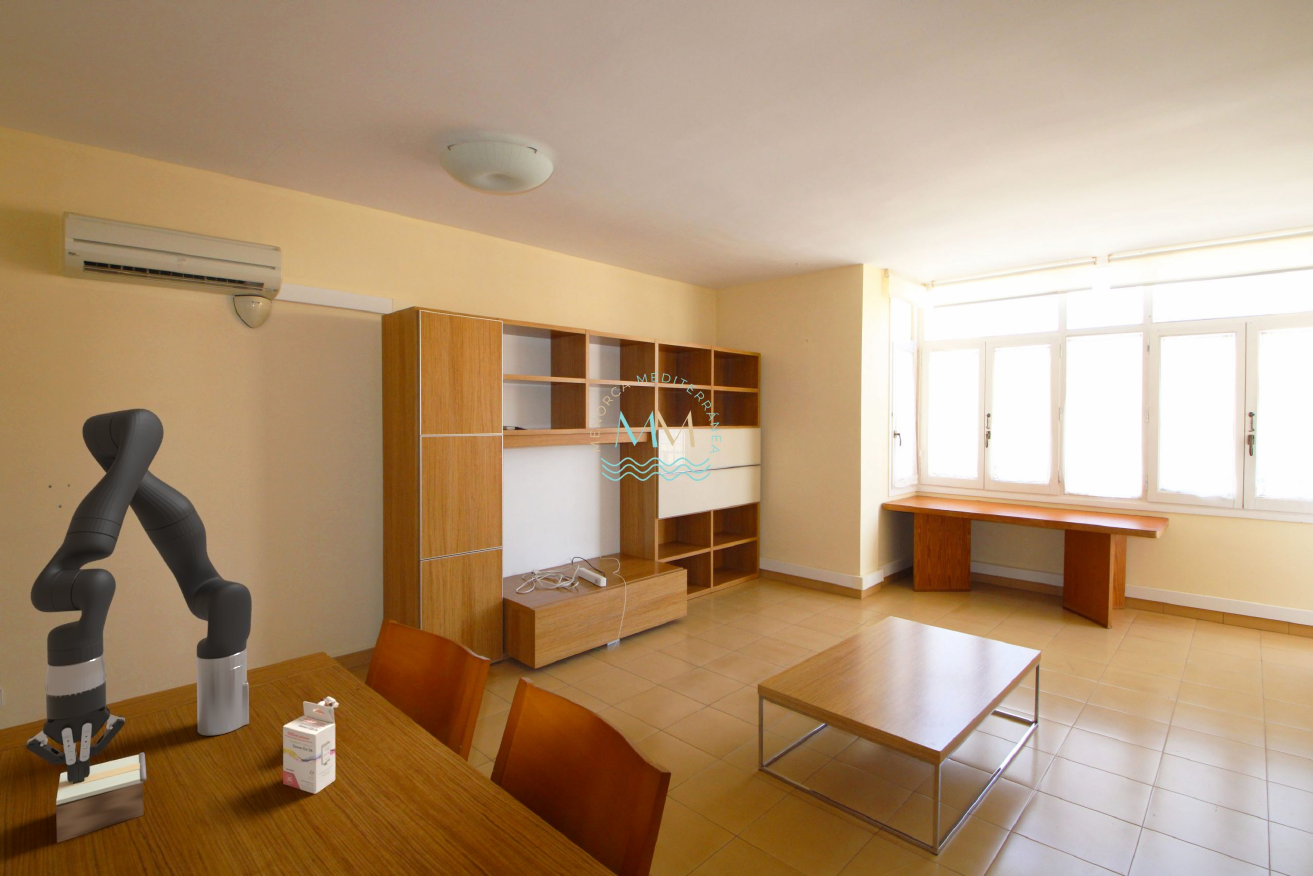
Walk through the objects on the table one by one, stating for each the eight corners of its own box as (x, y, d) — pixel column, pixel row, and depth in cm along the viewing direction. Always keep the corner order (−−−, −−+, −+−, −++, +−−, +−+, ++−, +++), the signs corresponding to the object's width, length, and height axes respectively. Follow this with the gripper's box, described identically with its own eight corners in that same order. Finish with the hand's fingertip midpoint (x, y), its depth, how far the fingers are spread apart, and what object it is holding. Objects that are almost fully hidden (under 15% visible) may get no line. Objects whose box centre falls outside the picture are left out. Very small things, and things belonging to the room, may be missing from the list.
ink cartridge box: (281, 785, 118) (280, 710, 117) (303, 771, 122) (303, 699, 122) (315, 795, 115) (314, 718, 114) (336, 780, 120) (336, 707, 119)
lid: (144, 756, 116) (144, 751, 116) (146, 781, 108) (146, 776, 108) (60, 777, 108) (60, 772, 108) (56, 805, 101) (56, 799, 101)
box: (142, 788, 116) (141, 757, 116) (143, 815, 108) (143, 782, 108) (61, 812, 109) (60, 779, 108) (57, 843, 101) (56, 807, 101)
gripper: (127, 666, 113) (128, 757, 114) (24, 686, 104) (26, 785, 105) (127, 680, 107) (129, 776, 108) (19, 703, 99) (21, 807, 99)
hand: (78, 780), depth 106 cm, fingers closed
